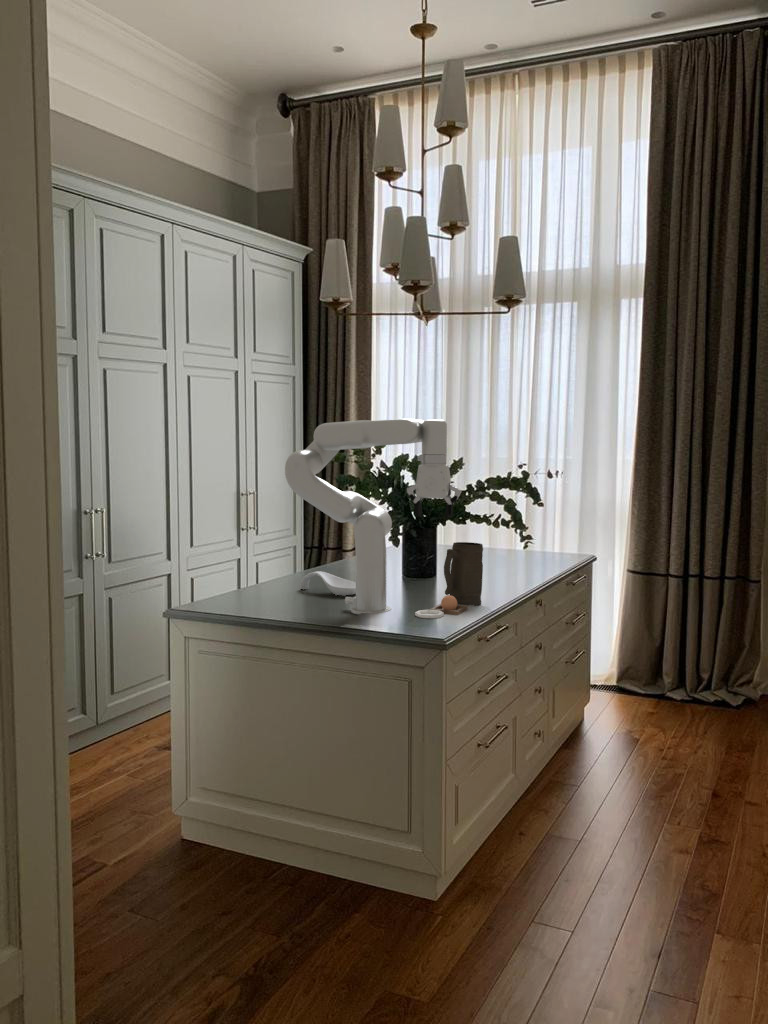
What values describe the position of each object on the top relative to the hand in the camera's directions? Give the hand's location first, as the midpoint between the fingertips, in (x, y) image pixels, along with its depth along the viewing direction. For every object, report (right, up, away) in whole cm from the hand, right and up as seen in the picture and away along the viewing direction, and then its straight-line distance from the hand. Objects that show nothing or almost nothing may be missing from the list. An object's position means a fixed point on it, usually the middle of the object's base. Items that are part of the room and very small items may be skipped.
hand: (433, 516), depth 279 cm
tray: (+5, -30, +4) cm, 31 cm away
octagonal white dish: (-1, -31, -3) cm, 31 cm away
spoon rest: (-34, -27, +40) cm, 59 cm away
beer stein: (+10, -29, +19) cm, 36 cm away
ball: (+5, -29, +4) cm, 30 cm away
